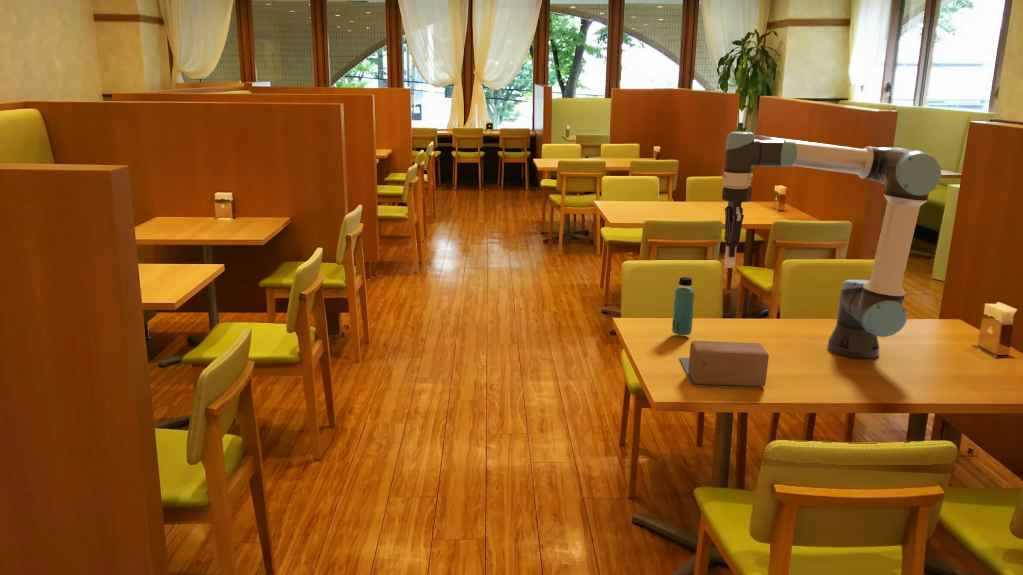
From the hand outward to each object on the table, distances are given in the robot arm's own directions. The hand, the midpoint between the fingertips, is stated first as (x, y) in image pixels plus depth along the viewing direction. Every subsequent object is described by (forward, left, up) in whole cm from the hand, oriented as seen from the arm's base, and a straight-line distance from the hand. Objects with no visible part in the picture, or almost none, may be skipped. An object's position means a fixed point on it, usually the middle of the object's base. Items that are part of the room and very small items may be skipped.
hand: (729, 267), depth 240 cm
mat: (+3, +10, -29) cm, 31 cm away
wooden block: (-8, +17, -24) cm, 30 cm away
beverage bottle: (+8, -23, -30) cm, 38 cm away
